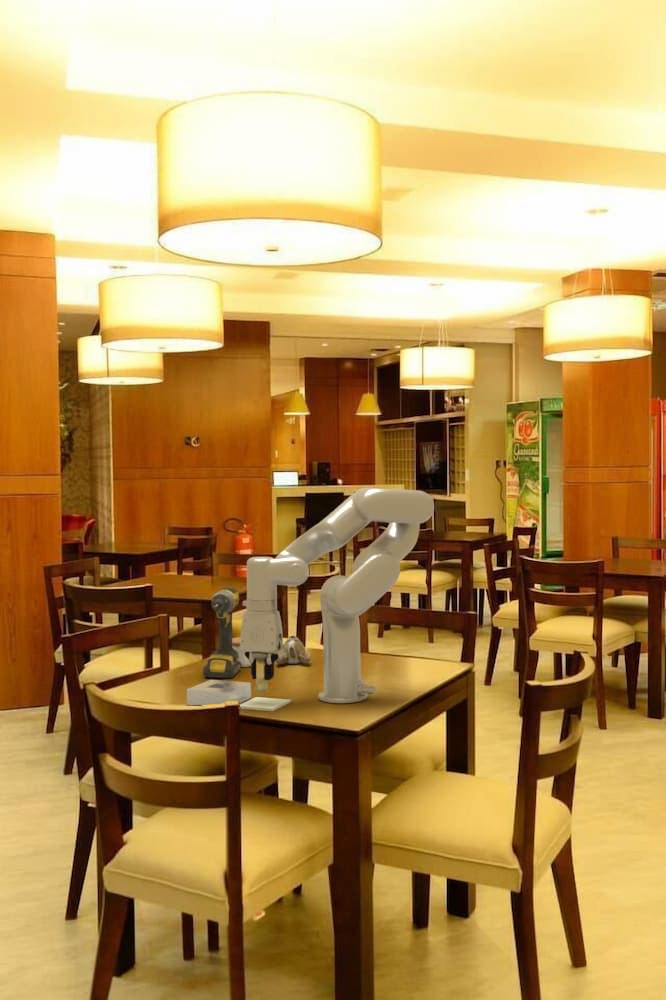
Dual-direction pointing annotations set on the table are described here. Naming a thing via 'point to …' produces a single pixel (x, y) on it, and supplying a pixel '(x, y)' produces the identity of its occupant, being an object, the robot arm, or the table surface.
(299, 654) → the ceramic sculpture
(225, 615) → the cordless drill
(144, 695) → the table surface
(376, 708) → the table surface
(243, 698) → the plate
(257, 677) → the metal bolt
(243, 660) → the lidded jar
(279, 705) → the mat
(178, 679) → the table surface
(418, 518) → the robot arm
